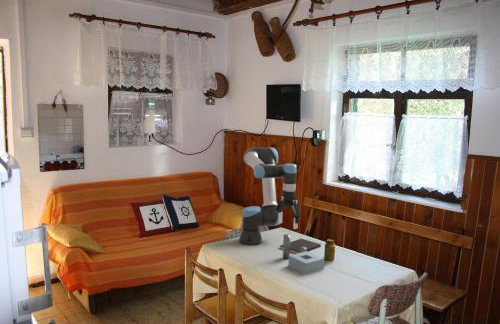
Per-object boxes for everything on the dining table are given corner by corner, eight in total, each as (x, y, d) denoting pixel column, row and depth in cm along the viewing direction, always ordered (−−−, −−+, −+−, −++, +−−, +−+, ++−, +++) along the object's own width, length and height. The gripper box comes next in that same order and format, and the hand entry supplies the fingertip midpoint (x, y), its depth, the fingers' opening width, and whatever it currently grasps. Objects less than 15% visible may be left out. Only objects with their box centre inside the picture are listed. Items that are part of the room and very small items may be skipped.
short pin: (298, 256, 248) (298, 247, 247) (303, 255, 250) (303, 246, 249) (302, 258, 245) (303, 249, 244) (307, 257, 247) (308, 247, 246)
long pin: (281, 257, 245) (282, 235, 243) (286, 256, 247) (287, 234, 246) (285, 259, 242) (286, 236, 240) (290, 258, 244) (291, 235, 243)
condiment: (337, 260, 244) (338, 240, 242) (327, 263, 239) (328, 243, 238) (328, 256, 250) (329, 237, 248) (318, 259, 245) (319, 239, 244)
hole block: (288, 265, 233) (288, 255, 232) (306, 261, 241) (306, 251, 240) (305, 274, 221) (306, 263, 221) (323, 268, 230) (324, 258, 229)
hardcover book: (279, 249, 262) (279, 245, 262) (301, 241, 279) (301, 238, 279) (299, 255, 251) (299, 252, 251) (320, 247, 268) (320, 244, 268)
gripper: (270, 187, 247) (269, 221, 250) (299, 194, 227) (297, 231, 230) (280, 186, 252) (278, 220, 254) (308, 193, 232) (307, 230, 234)
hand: (287, 225), depth 242 cm, fingers open, 13 cm apart
